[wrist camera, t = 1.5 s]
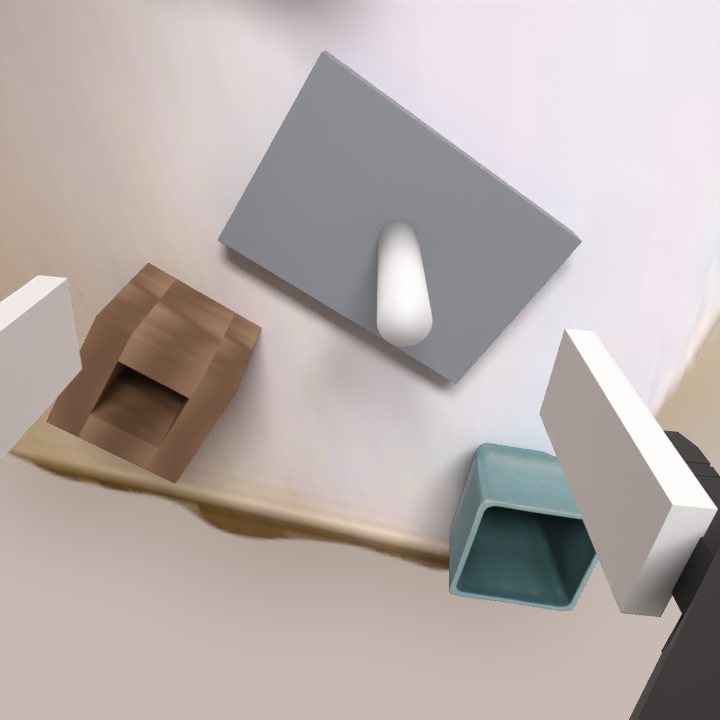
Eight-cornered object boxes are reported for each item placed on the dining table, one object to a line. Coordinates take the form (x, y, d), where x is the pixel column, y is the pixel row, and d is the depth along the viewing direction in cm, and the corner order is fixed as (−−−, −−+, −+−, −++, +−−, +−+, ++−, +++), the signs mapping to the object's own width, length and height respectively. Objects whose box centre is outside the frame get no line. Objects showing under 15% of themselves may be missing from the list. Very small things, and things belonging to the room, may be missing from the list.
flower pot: (463, 415, 44) (481, 500, 36) (578, 434, 44) (621, 521, 36) (436, 503, 48) (447, 595, 40) (541, 518, 48) (572, 613, 41)
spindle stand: (225, 229, 37) (157, 320, 26) (325, 50, 32) (294, 64, 21) (452, 368, 42) (479, 497, 30) (572, 231, 36) (658, 324, 25)
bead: (101, 355, 42) (46, 421, 35) (148, 262, 38) (96, 315, 31) (207, 411, 44) (175, 483, 37) (261, 327, 40) (236, 390, 33)
